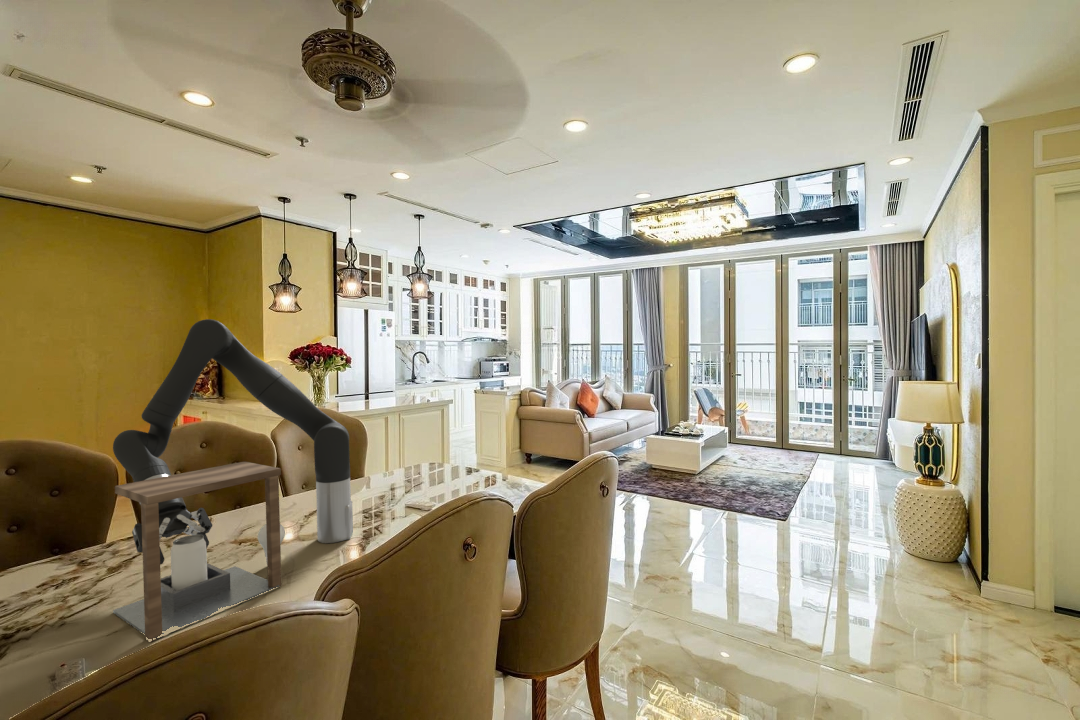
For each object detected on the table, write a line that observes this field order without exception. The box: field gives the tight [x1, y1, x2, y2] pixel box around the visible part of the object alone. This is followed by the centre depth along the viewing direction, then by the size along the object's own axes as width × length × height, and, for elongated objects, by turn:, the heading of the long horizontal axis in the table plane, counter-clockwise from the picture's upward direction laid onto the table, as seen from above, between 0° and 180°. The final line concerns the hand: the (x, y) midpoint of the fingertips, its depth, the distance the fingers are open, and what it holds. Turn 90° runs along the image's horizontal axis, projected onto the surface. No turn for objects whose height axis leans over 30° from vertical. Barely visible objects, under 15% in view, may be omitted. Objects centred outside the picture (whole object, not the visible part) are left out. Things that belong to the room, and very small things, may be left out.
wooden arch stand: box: [114, 461, 283, 643], centre depth 104 cm, size 16×25×28 cm, turn 148°
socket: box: [112, 562, 279, 640], centre depth 106 cm, size 20×24×4 cm
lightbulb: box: [257, 523, 286, 563], centre depth 122 cm, size 6×6×11 cm
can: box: [170, 535, 208, 591], centre depth 108 cm, size 6×6×12 cm
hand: (184, 555), depth 109 cm, fingers open, 8 cm apart
